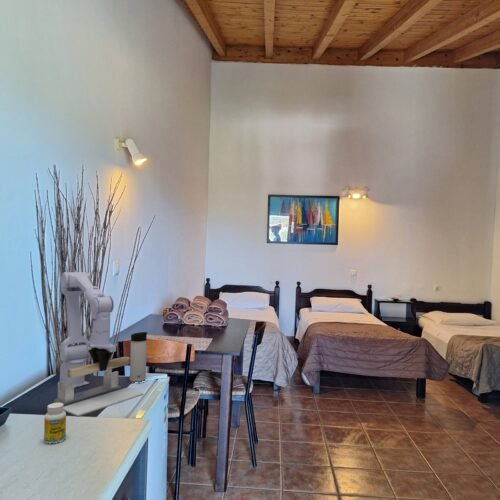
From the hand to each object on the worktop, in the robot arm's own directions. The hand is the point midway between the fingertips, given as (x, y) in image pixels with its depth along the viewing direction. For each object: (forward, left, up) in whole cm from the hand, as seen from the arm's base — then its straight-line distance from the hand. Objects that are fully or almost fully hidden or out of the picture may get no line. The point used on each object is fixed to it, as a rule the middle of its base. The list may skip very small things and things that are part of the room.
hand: (100, 369), depth 142 cm
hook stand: (-6, 0, -11) cm, 12 cm away
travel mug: (-6, +22, -11) cm, 25 cm away
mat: (+3, 0, -11) cm, 11 cm away
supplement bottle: (+18, -26, -11) cm, 33 cm away
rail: (0, 0, 0) cm, 0 cm away
